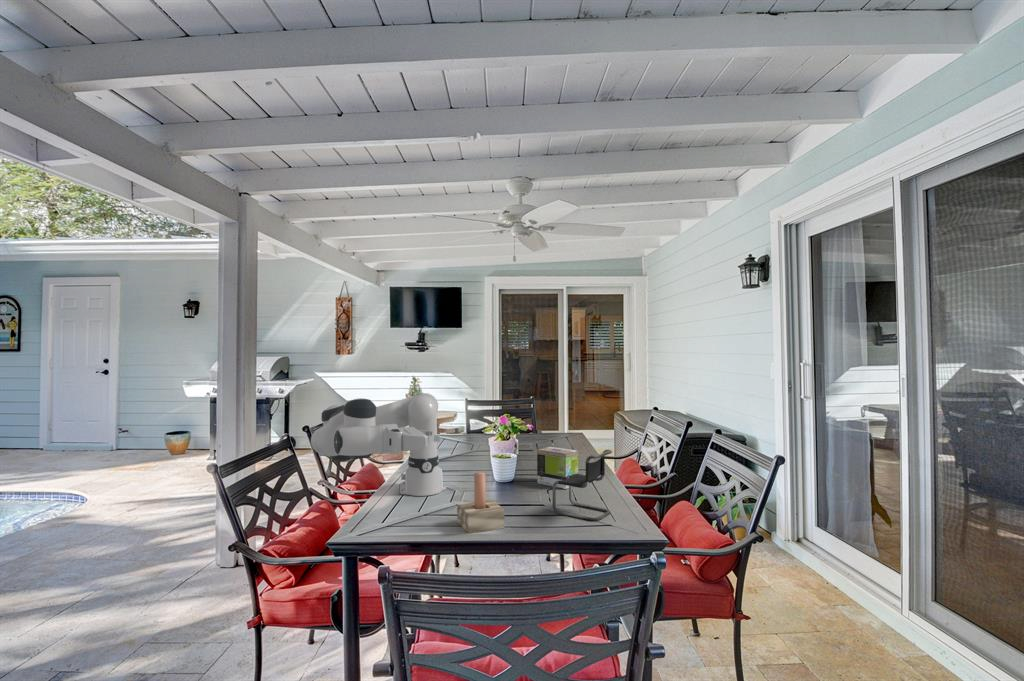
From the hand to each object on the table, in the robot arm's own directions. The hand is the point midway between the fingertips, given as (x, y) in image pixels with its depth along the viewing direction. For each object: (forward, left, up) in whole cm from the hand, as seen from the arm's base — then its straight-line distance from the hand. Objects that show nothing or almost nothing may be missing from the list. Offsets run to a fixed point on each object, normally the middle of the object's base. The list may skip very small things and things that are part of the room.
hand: (435, 435), depth 163 cm
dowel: (0, +15, -28) cm, 32 cm away
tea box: (-35, +62, -30) cm, 77 cm away
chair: (+2, +52, -30) cm, 60 cm away
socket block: (0, +15, -30) cm, 34 cm away
